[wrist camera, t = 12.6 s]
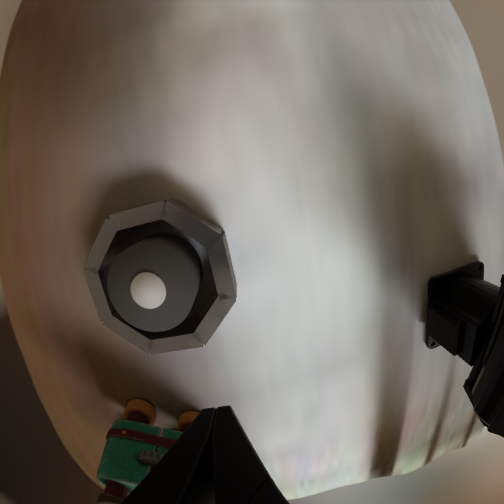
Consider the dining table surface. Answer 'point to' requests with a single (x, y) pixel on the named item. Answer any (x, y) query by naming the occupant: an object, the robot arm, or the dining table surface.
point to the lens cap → (155, 282)
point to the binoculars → (134, 449)
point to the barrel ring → (193, 225)
